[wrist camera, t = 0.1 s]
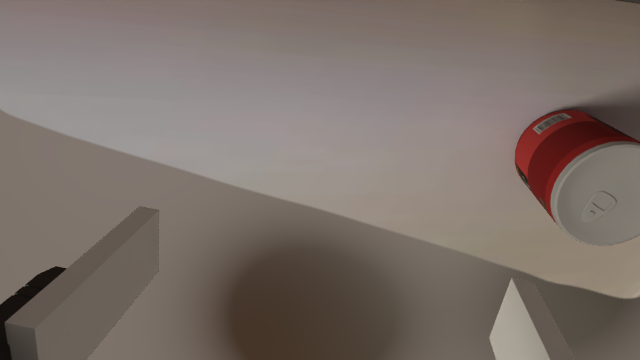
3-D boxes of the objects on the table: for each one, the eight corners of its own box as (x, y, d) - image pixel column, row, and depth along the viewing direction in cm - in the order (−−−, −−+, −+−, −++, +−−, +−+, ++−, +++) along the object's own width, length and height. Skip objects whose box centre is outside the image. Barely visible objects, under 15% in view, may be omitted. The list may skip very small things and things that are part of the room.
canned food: (497, 174, 43) (533, 228, 33) (537, 95, 40) (590, 128, 30) (573, 199, 43) (633, 261, 33) (619, 122, 40) (700, 164, 30)
